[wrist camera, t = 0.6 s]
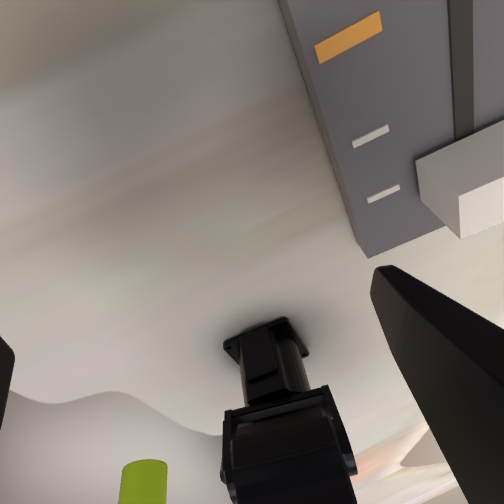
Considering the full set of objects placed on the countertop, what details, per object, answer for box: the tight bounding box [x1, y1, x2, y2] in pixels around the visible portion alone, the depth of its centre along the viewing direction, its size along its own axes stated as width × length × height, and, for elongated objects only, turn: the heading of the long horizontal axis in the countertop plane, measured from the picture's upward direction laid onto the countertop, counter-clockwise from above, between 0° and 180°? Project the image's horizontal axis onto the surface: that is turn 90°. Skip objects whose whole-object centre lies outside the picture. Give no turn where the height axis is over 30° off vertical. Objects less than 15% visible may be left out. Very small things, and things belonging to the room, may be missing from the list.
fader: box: [415, 120, 504, 239], centre depth 18 cm, size 3×6×4 cm, turn 115°
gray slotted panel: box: [278, 0, 504, 258], centre depth 17 cm, size 22×14×2 cm, turn 25°
